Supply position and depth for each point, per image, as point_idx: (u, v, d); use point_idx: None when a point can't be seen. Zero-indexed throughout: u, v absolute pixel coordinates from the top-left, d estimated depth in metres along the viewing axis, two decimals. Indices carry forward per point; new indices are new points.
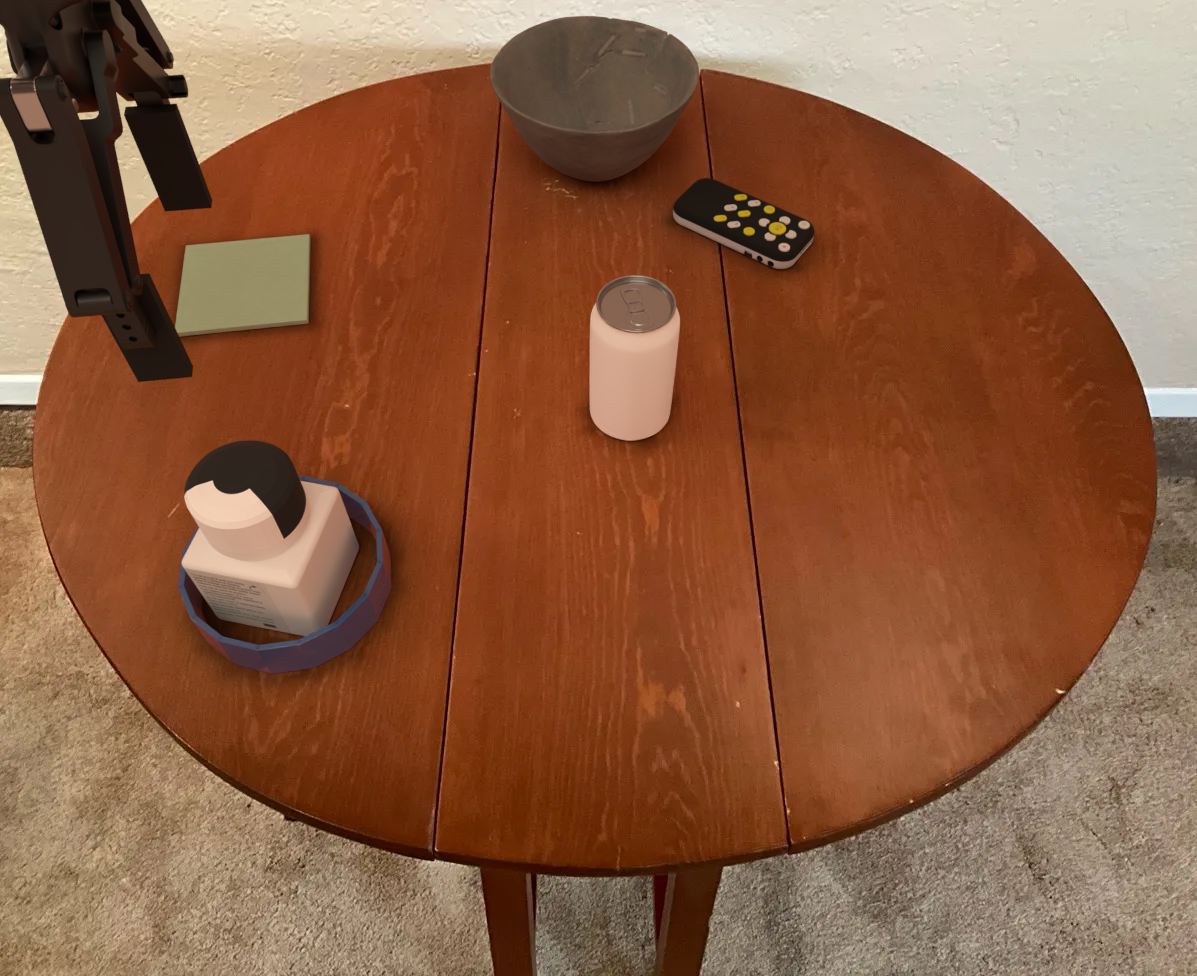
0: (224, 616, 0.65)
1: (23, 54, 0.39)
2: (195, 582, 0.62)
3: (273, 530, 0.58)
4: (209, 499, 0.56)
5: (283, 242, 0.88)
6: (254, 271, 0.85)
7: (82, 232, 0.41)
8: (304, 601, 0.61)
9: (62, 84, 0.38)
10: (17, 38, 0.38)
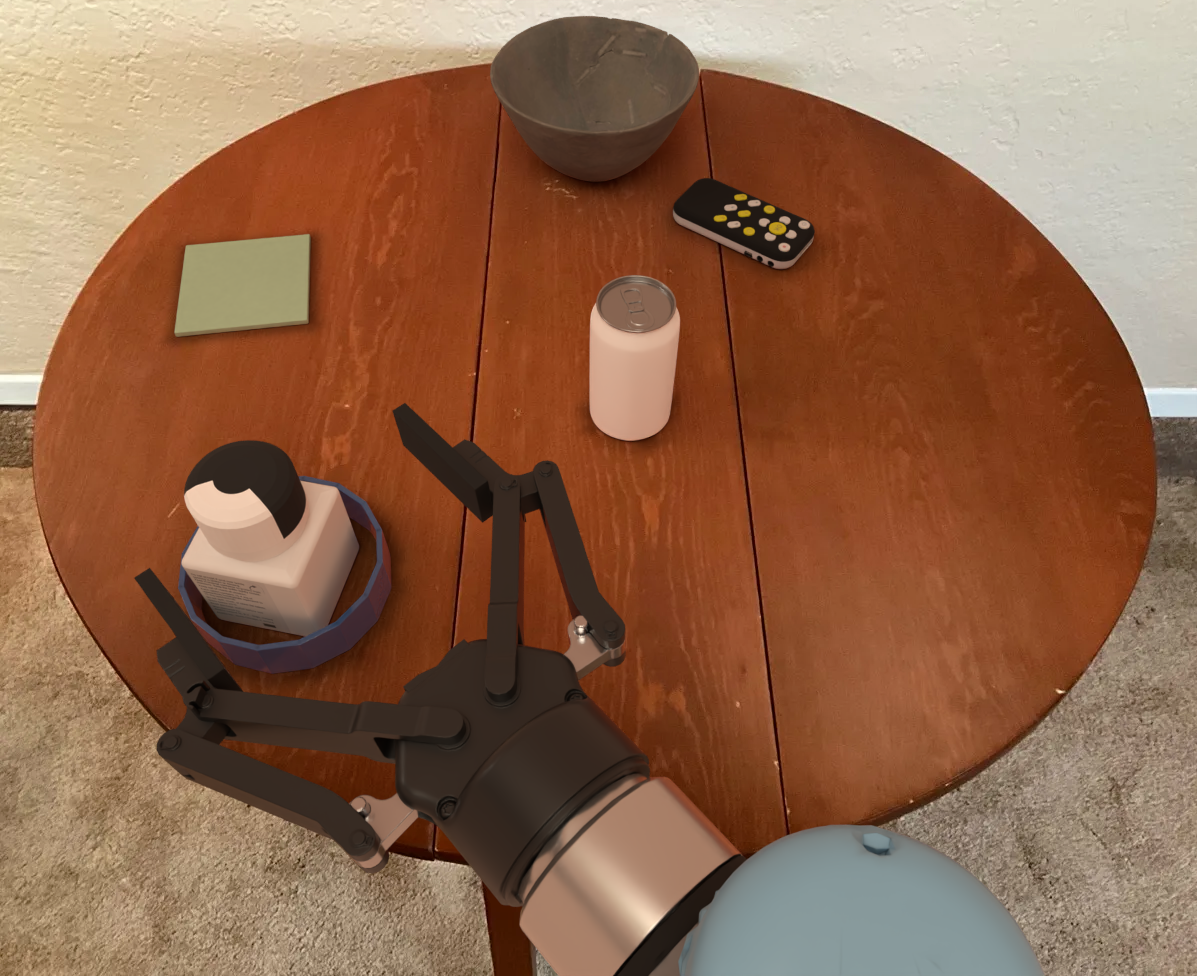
0: (224, 616, 0.65)
1: None
2: (195, 582, 0.62)
3: (273, 530, 0.58)
4: (209, 499, 0.56)
5: (283, 242, 0.88)
6: (254, 271, 0.85)
7: (245, 799, 0.38)
8: (304, 601, 0.61)
9: None
10: (431, 816, 0.36)
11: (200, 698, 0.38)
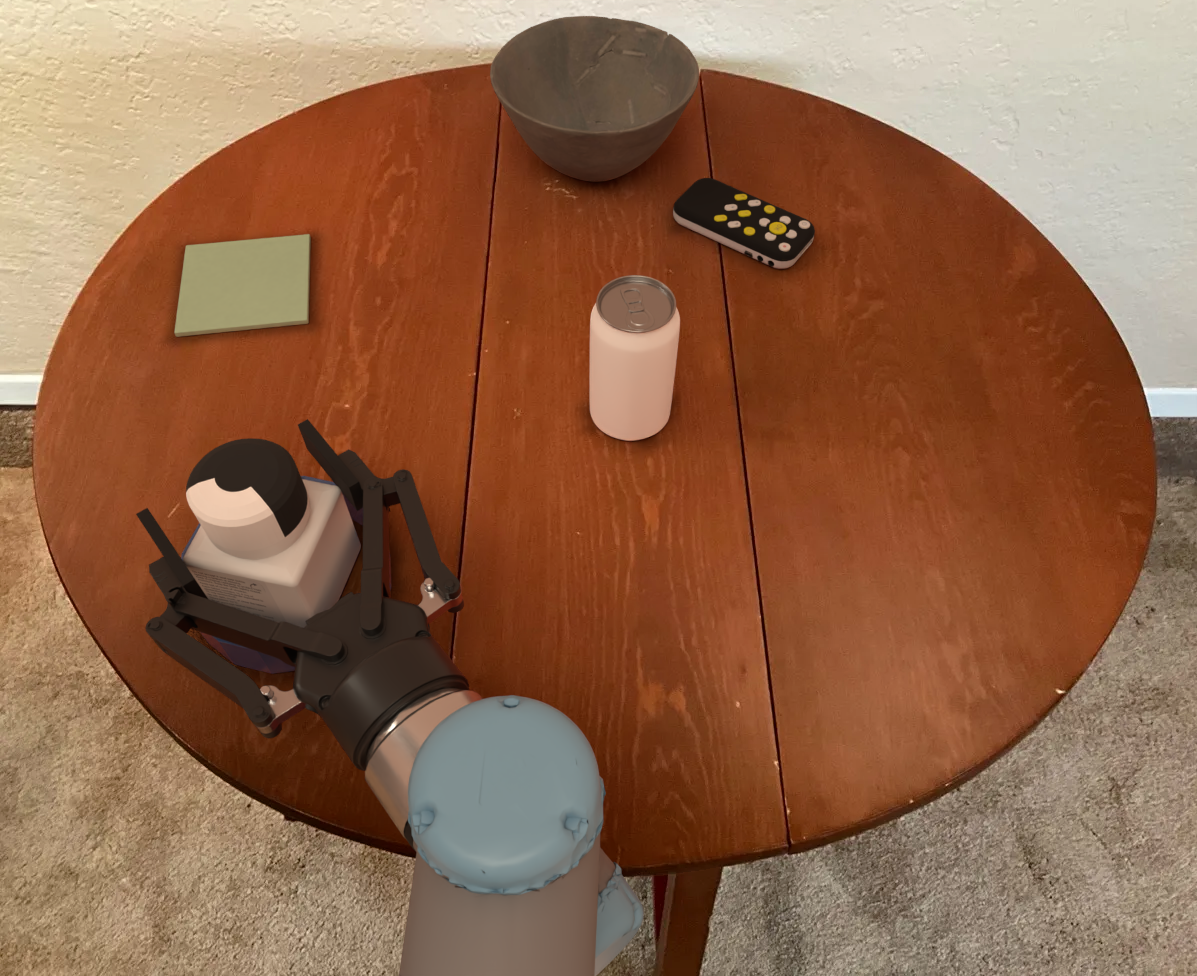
0: None
1: (304, 701, 0.54)
2: (196, 579, 0.62)
3: (274, 528, 0.58)
4: (210, 497, 0.57)
5: (283, 242, 0.88)
6: (254, 271, 0.85)
7: (196, 673, 0.55)
8: (304, 599, 0.61)
9: None
10: (314, 707, 0.53)
11: (177, 597, 0.56)
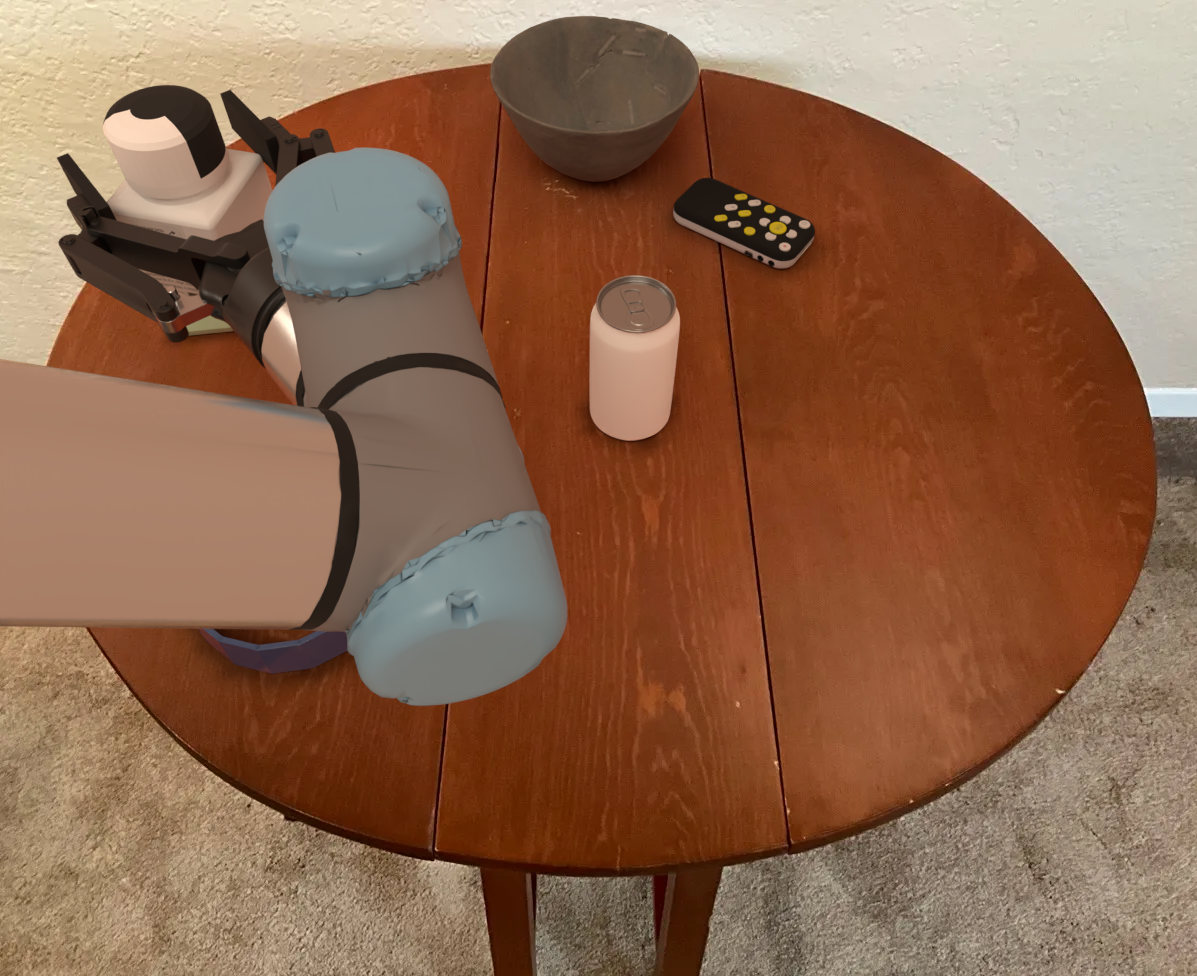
0: None
1: (208, 302, 0.55)
2: None
3: (189, 162, 0.59)
4: (125, 124, 0.58)
5: None
6: None
7: (108, 287, 0.57)
8: None
9: None
10: (218, 307, 0.55)
11: (90, 216, 0.57)
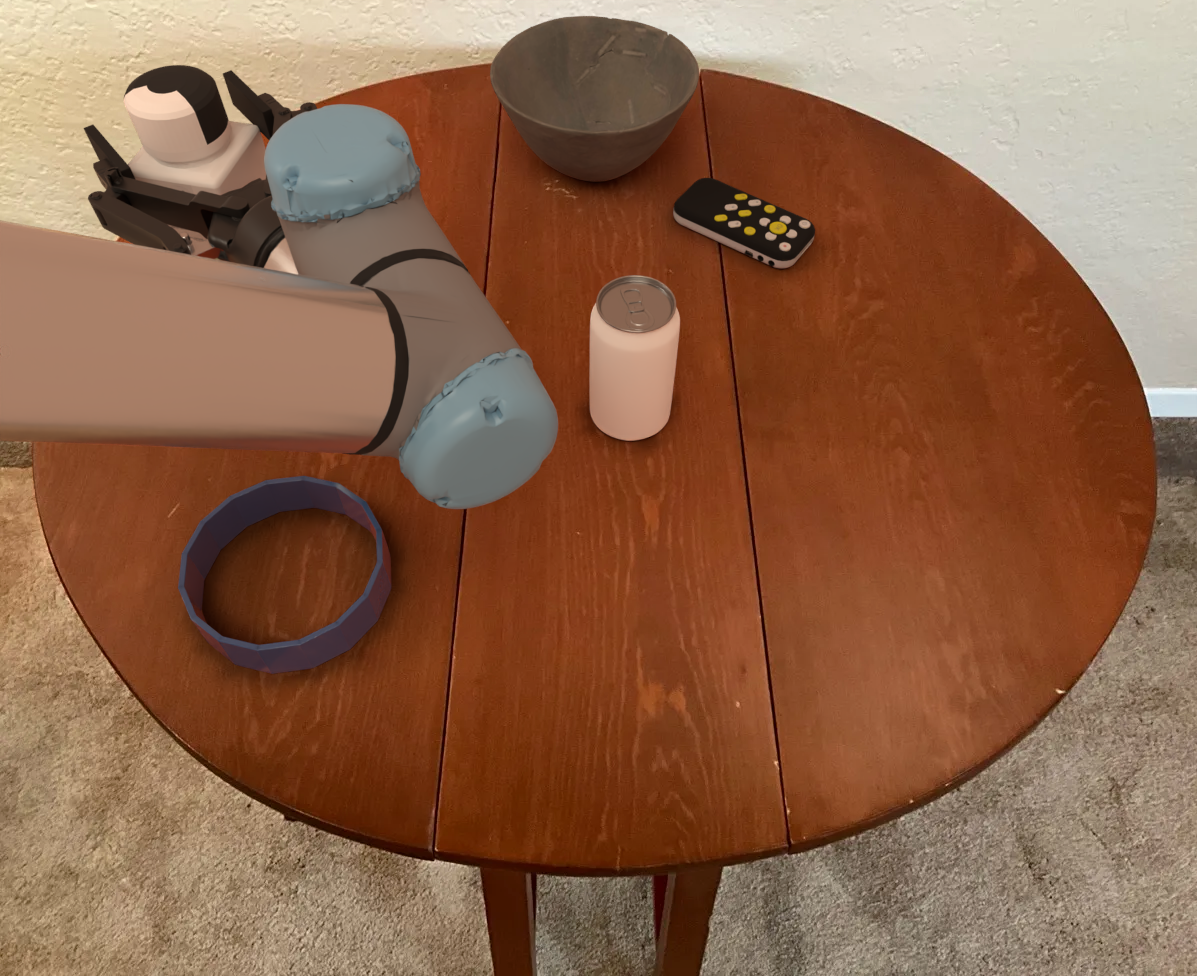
0: None
1: (216, 246, 0.65)
2: None
3: (197, 130, 0.70)
4: (143, 97, 0.68)
5: None
6: None
7: (130, 236, 0.67)
8: None
9: None
10: (224, 250, 0.65)
11: (114, 176, 0.68)
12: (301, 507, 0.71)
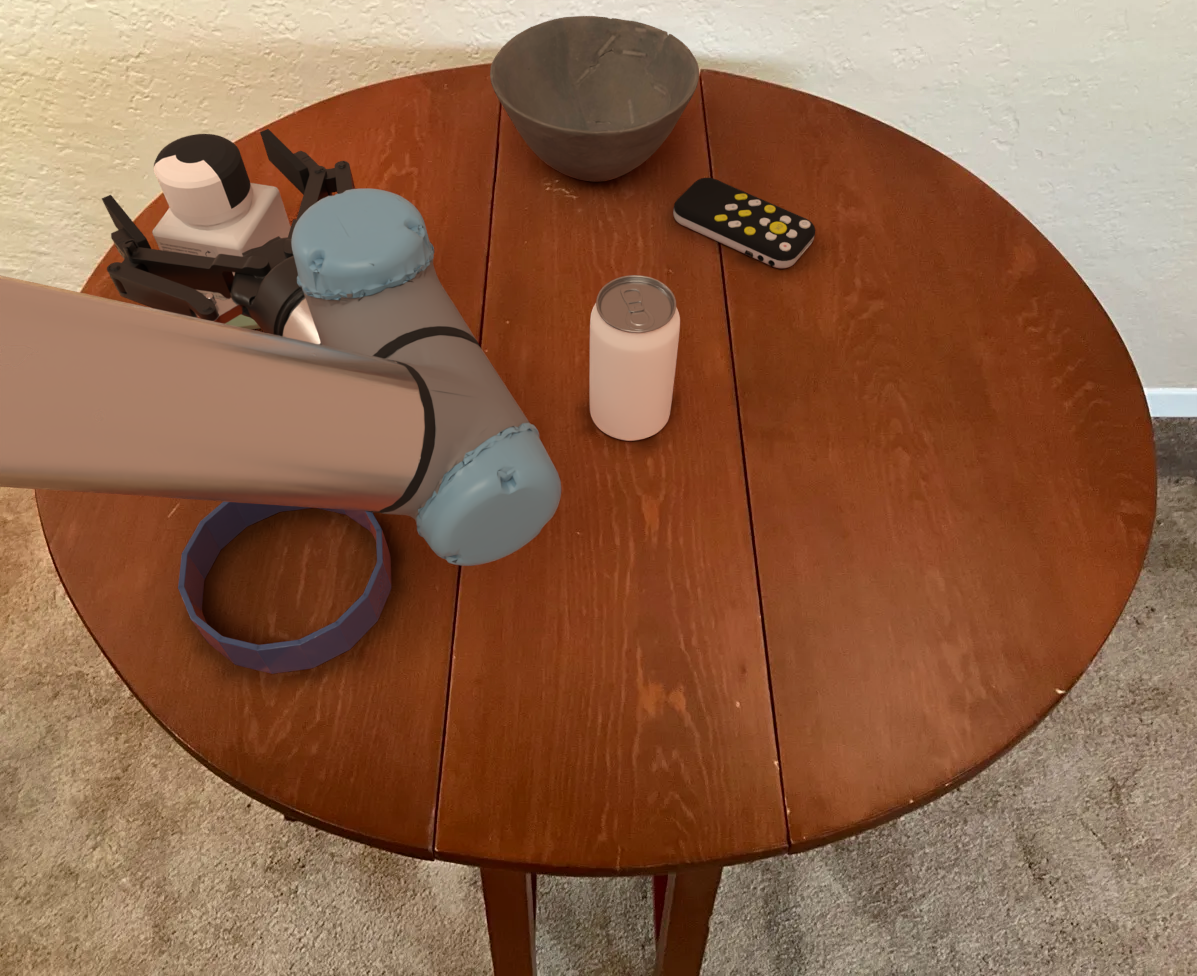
0: None
1: (240, 303, 0.70)
2: None
3: (222, 196, 0.74)
4: (172, 167, 0.73)
5: None
6: None
7: (152, 301, 0.71)
8: None
9: None
10: (246, 306, 0.69)
11: (132, 248, 0.71)
12: (301, 507, 0.71)
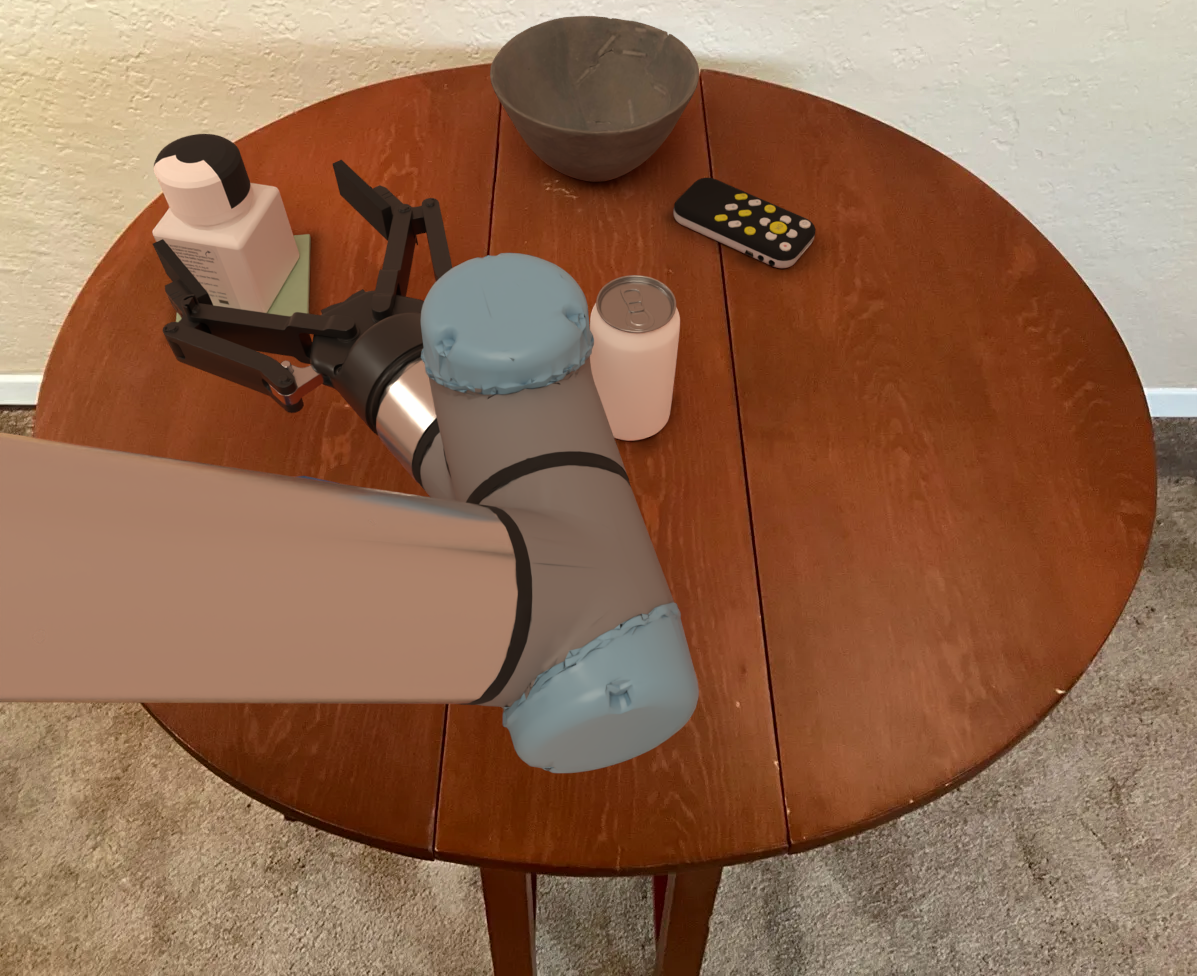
0: None
1: (322, 372, 0.59)
2: None
3: (222, 196, 0.74)
4: (172, 167, 0.73)
5: None
6: None
7: (216, 368, 0.60)
8: (248, 266, 0.78)
9: None
10: (330, 376, 0.59)
11: (191, 305, 0.60)
12: None
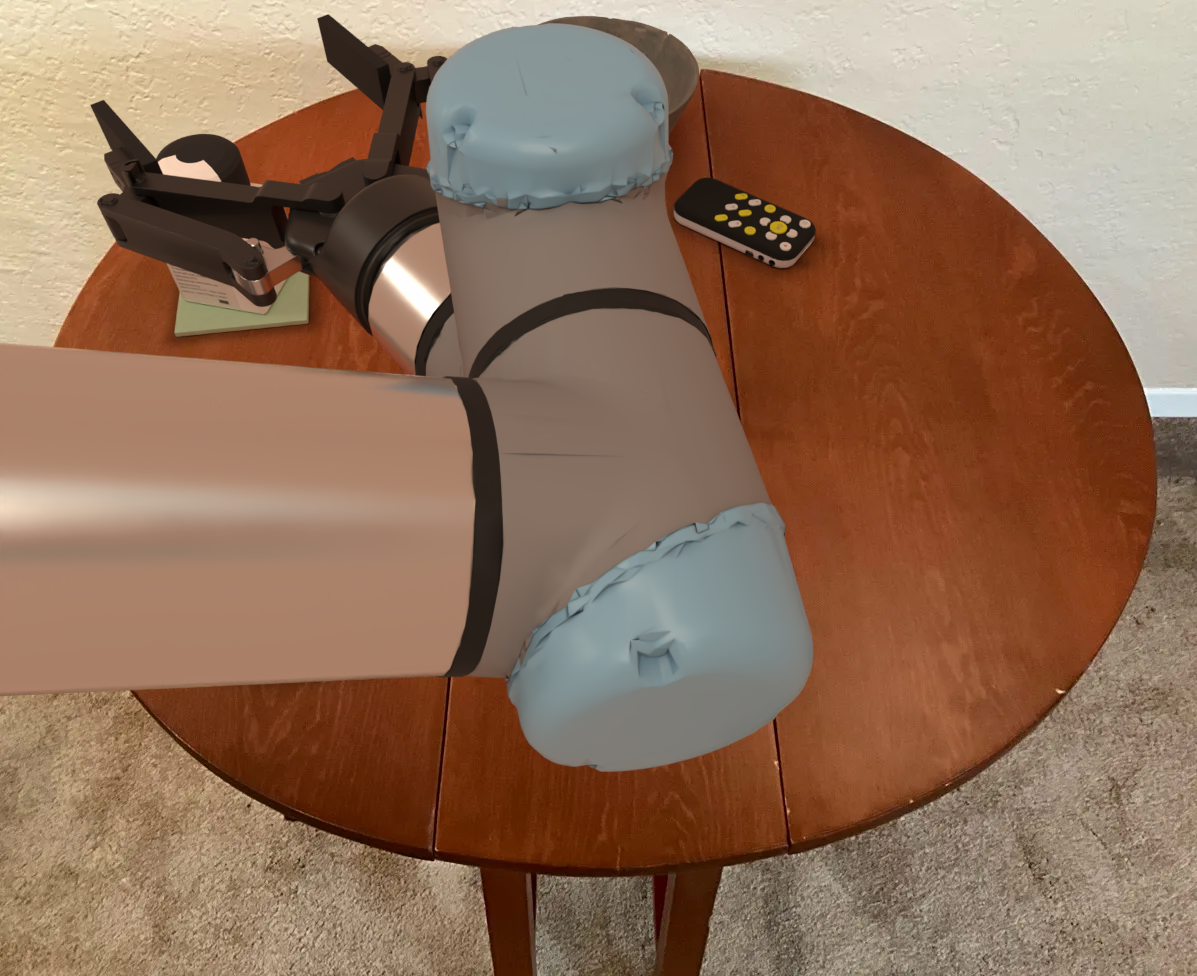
0: (188, 295, 0.82)
1: (300, 254, 0.46)
2: None
3: None
4: (172, 166, 0.73)
5: None
6: None
7: (166, 252, 0.47)
8: None
9: None
10: (310, 258, 0.46)
11: (135, 172, 0.47)
12: None
